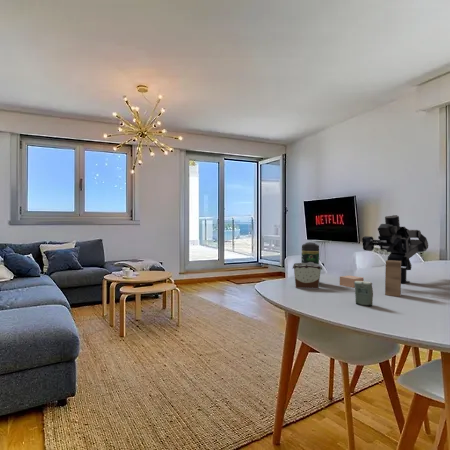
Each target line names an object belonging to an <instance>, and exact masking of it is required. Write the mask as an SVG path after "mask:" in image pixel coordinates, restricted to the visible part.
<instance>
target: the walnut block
mask: <svg viewBox="0 0 450 450" xmlns="http://www.w3.org/2000/svg"><path fill="white" fill-rule="evenodd" d="M384 271H385V272H384V273H385V276H384V277H385V278H384V279H385V280H384V281H385V282H384V283H385V286H384V287H385V288H384V294H385V296H391V297H399V298H400V297H401V295H402V292H401V291H402V290H401V289H402V283H401V261H393V260H385V270H384Z"/></svg>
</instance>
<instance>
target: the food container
mask: <svg viewBox="0 0 450 450" xmlns="http://www.w3.org/2000/svg"><path fill="white" fill-rule="evenodd" d="M291 269H292V270H293V274H294V283H295V284H294V285H295V289H313V290H314V289H316V290H317V289H319V288H320V281H321V280H320V279H321V271H323V267H322V264H320V263H319V264H314V263H301V262H296V263H293V265H292V268H291Z"/></svg>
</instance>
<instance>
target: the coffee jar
mask: <svg viewBox="0 0 450 450" xmlns="http://www.w3.org/2000/svg"><path fill="white" fill-rule="evenodd" d="M300 256H301V259H300V261H301V262H300V263H314V264H320V245H319V244H317V243H316V242H312V241H311V242H305V243H303V244H301V255H300Z"/></svg>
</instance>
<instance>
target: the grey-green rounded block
mask: <svg viewBox="0 0 450 450" xmlns="http://www.w3.org/2000/svg"><path fill="white" fill-rule="evenodd" d="M354 284H355V288H354V292H355V293H354V295H355V296H354V297H355V304H356V305H357V306H363V307H365V306H366V307H373V303H374V302H373V300H374V291H373V290H374V289H373V288H374V287H373V283H372V282H370V281H355V282H354Z"/></svg>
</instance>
